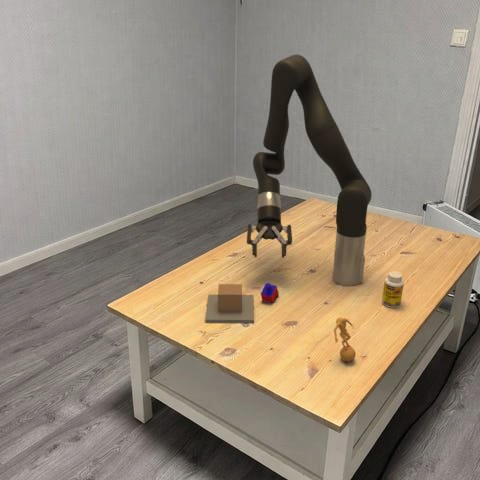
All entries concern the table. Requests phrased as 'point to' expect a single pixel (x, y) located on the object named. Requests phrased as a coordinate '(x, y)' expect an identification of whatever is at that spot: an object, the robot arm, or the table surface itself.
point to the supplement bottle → (393, 290)
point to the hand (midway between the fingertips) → (269, 256)
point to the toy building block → (269, 292)
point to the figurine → (347, 351)
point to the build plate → (230, 316)
